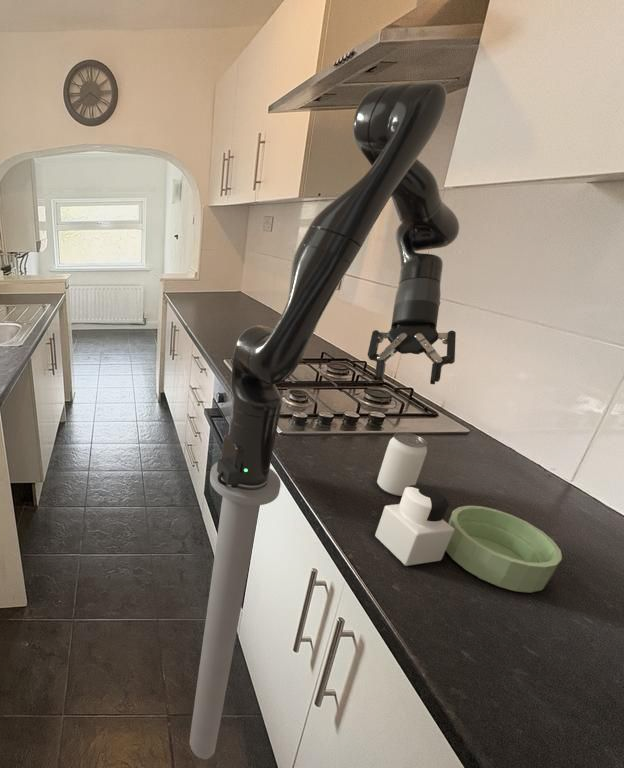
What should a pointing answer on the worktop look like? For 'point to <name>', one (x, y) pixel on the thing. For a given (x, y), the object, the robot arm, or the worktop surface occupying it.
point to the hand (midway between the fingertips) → (405, 381)
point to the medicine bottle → (416, 526)
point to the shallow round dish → (502, 549)
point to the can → (402, 463)
